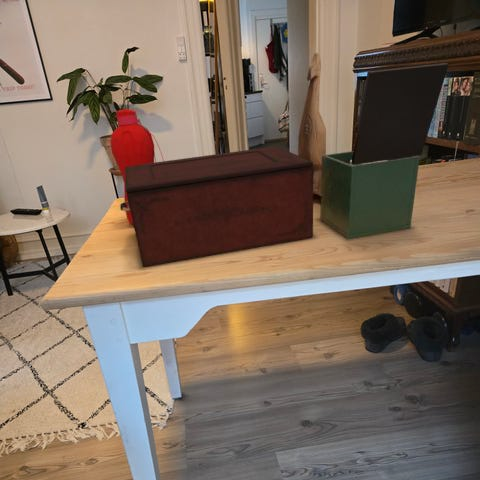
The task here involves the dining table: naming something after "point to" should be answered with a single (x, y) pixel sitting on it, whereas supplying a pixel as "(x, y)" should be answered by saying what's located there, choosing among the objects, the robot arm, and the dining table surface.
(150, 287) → the dining table surface
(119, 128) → the water bottle
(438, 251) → the dining table surface
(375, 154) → the black flat panel
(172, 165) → the storage box
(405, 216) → the green cube bin
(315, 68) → the bird sculpture
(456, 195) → the dining table surface
